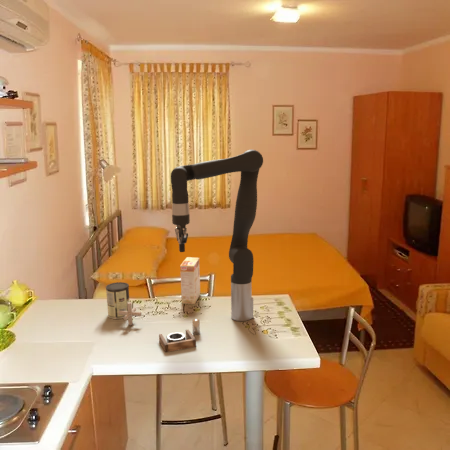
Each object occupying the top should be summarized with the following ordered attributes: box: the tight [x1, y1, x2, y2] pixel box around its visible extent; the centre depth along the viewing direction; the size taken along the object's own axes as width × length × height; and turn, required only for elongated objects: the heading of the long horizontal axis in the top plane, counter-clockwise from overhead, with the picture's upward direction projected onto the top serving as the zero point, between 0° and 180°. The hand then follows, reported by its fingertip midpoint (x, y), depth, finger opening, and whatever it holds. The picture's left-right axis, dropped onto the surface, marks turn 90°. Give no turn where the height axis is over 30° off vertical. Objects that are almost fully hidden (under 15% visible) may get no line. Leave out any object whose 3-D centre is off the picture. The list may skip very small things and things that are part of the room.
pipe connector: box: [118, 301, 142, 326], centre depth 209 cm, size 10×10×10 cm
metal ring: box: [166, 332, 186, 343], centre depth 192 cm, size 7×7×3 cm
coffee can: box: [105, 281, 130, 320], centre depth 220 cm, size 10×10×14 cm
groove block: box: [158, 329, 197, 353], centre depth 191 cm, size 12×10×3 cm
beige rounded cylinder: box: [191, 318, 201, 336], centre depth 200 cm, size 3×3×6 cm
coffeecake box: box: [179, 256, 201, 305], centre depth 239 cm, size 15×7×20 cm, turn 172°
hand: (182, 251), depth 211 cm, fingers closed
